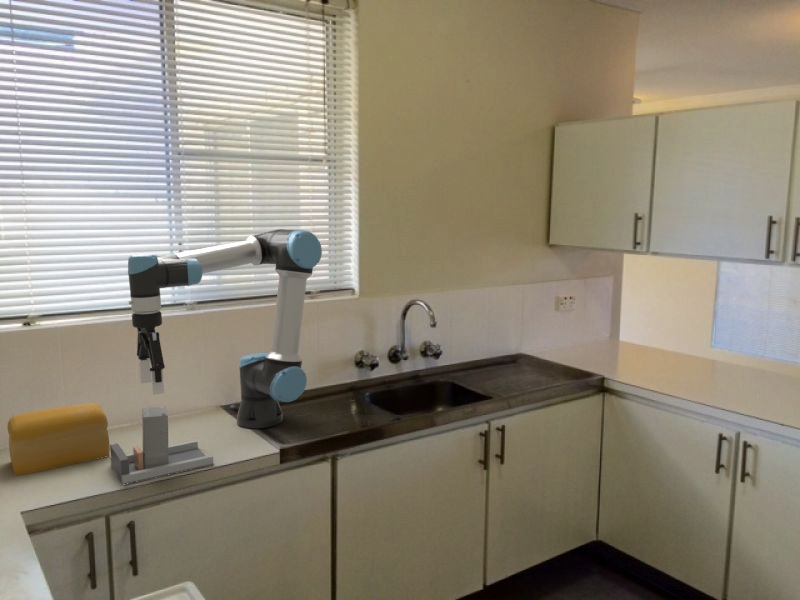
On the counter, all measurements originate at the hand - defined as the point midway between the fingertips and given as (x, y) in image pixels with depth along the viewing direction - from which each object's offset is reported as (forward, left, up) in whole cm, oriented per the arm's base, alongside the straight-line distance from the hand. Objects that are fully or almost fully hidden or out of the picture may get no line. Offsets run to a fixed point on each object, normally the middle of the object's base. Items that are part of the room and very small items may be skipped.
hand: (152, 388), depth 183 cm
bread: (+22, -22, -23) cm, 38 cm away
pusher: (+5, 0, -22) cm, 22 cm away
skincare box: (0, 0, -22) cm, 22 cm away
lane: (-1, 0, -23) cm, 23 cm away
